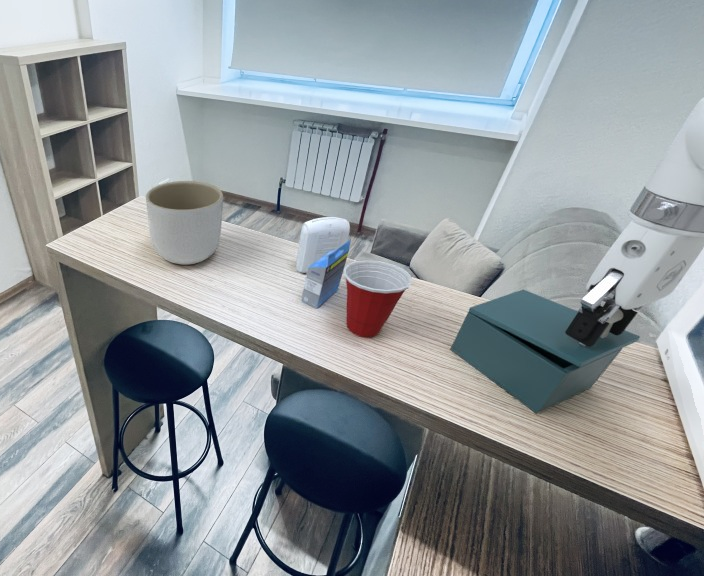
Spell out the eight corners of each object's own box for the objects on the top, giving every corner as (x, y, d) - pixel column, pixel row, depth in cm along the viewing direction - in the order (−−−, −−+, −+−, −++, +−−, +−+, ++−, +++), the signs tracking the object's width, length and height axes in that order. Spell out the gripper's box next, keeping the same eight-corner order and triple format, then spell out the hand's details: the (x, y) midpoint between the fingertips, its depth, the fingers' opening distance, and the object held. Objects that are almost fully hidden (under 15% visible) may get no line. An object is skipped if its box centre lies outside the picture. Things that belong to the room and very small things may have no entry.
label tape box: (322, 283, 87) (332, 231, 80) (340, 290, 85) (352, 238, 78) (300, 301, 82) (309, 248, 75) (318, 310, 80) (329, 255, 73)
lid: (637, 341, 56) (655, 309, 54) (579, 367, 52) (596, 334, 50) (521, 293, 69) (531, 265, 67) (468, 311, 65) (476, 283, 63)
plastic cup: (368, 304, 81) (383, 252, 74) (406, 339, 72) (428, 283, 65) (320, 315, 78) (331, 262, 71) (354, 352, 70) (371, 296, 63)
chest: (591, 387, 63) (623, 348, 58) (536, 414, 59) (565, 374, 54) (500, 330, 74) (521, 293, 69) (449, 349, 70) (467, 311, 65)
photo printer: (335, 261, 94) (346, 212, 87) (343, 271, 91) (355, 220, 84) (292, 265, 93) (299, 215, 86) (299, 275, 90) (307, 224, 83)
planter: (235, 253, 98) (239, 193, 89) (186, 282, 88) (184, 218, 80) (186, 231, 108) (184, 175, 99) (136, 255, 98) (129, 195, 89)
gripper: (679, 238, 40) (582, 370, 50) (767, 211, 45) (662, 335, 55) (593, 210, 46) (522, 333, 56) (679, 188, 51) (599, 305, 61)
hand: (592, 333), depth 56 cm, fingers closed on lid, 5 cm apart
